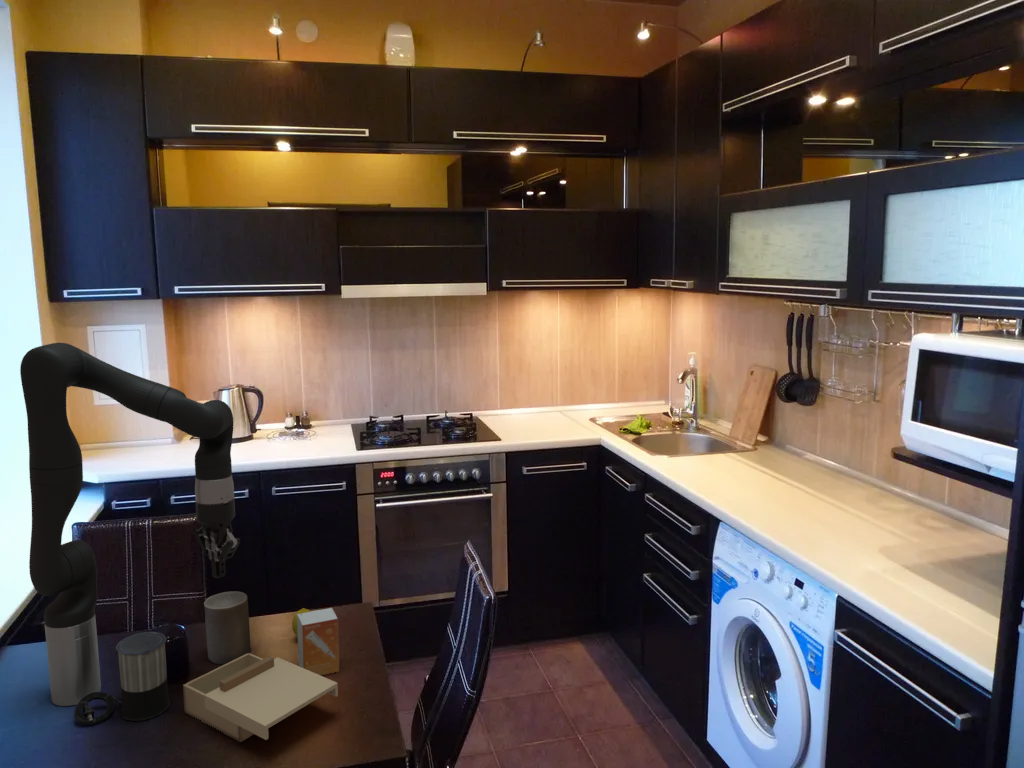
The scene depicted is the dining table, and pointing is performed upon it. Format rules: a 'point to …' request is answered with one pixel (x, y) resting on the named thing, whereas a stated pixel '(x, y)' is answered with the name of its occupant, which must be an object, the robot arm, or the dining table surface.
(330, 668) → the small box
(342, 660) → the dining table surface
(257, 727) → the lid
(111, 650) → the dining table surface
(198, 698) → the tray
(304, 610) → the lemon
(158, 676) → the milk frother
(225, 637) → the pillar candle
